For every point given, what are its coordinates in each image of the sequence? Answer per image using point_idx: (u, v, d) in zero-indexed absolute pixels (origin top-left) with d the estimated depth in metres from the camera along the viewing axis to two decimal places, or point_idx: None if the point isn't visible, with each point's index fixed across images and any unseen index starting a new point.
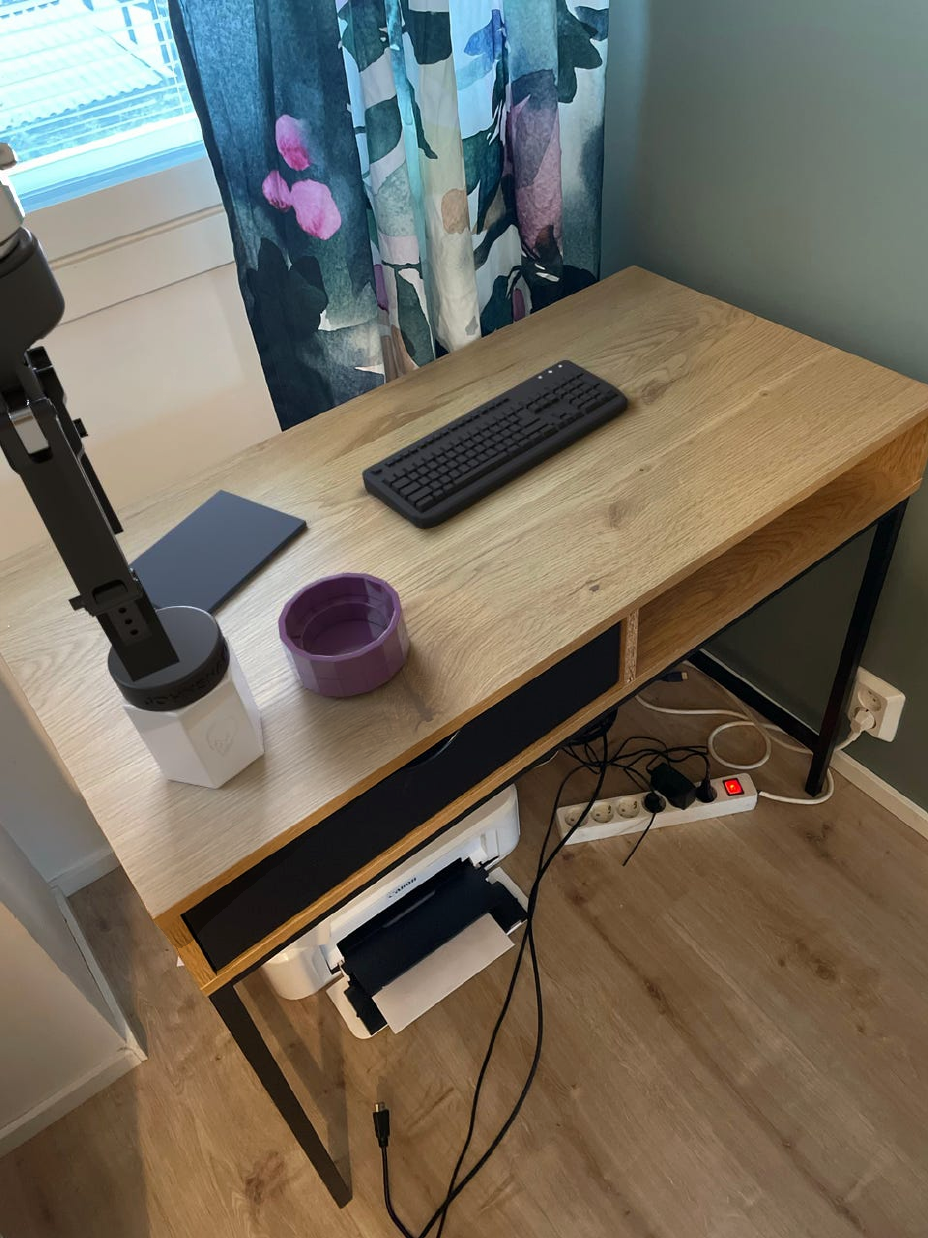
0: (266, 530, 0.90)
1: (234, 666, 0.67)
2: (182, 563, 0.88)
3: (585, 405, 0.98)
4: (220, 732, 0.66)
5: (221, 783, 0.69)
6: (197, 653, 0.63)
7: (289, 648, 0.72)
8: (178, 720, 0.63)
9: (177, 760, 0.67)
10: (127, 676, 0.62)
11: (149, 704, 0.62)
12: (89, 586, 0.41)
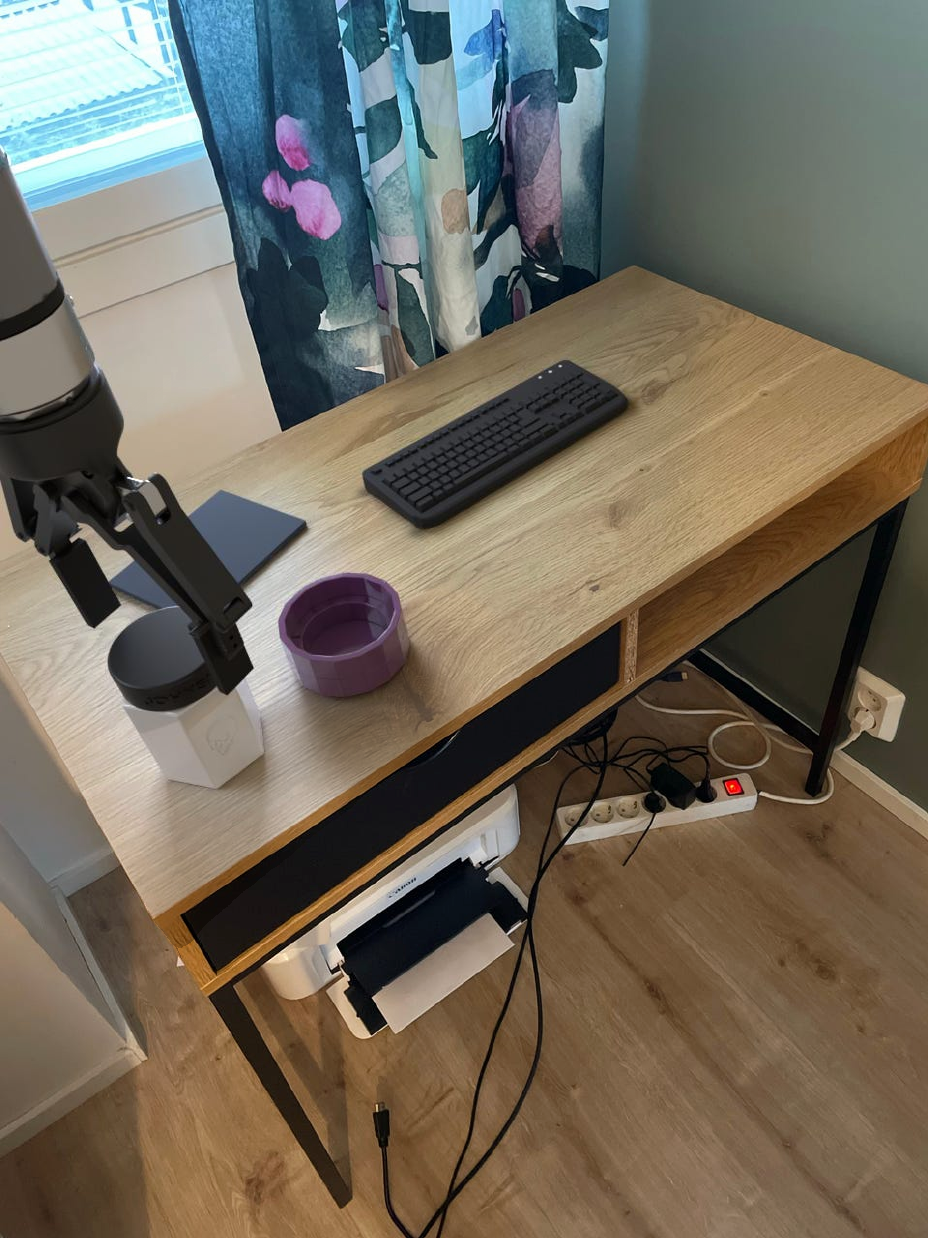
0: (266, 530, 0.90)
1: None
2: None
3: (585, 405, 0.98)
4: (220, 732, 0.66)
5: (221, 783, 0.69)
6: (197, 653, 0.63)
7: (289, 648, 0.72)
8: (178, 720, 0.63)
9: (177, 760, 0.67)
10: (127, 676, 0.62)
11: (149, 704, 0.62)
12: (220, 608, 0.53)
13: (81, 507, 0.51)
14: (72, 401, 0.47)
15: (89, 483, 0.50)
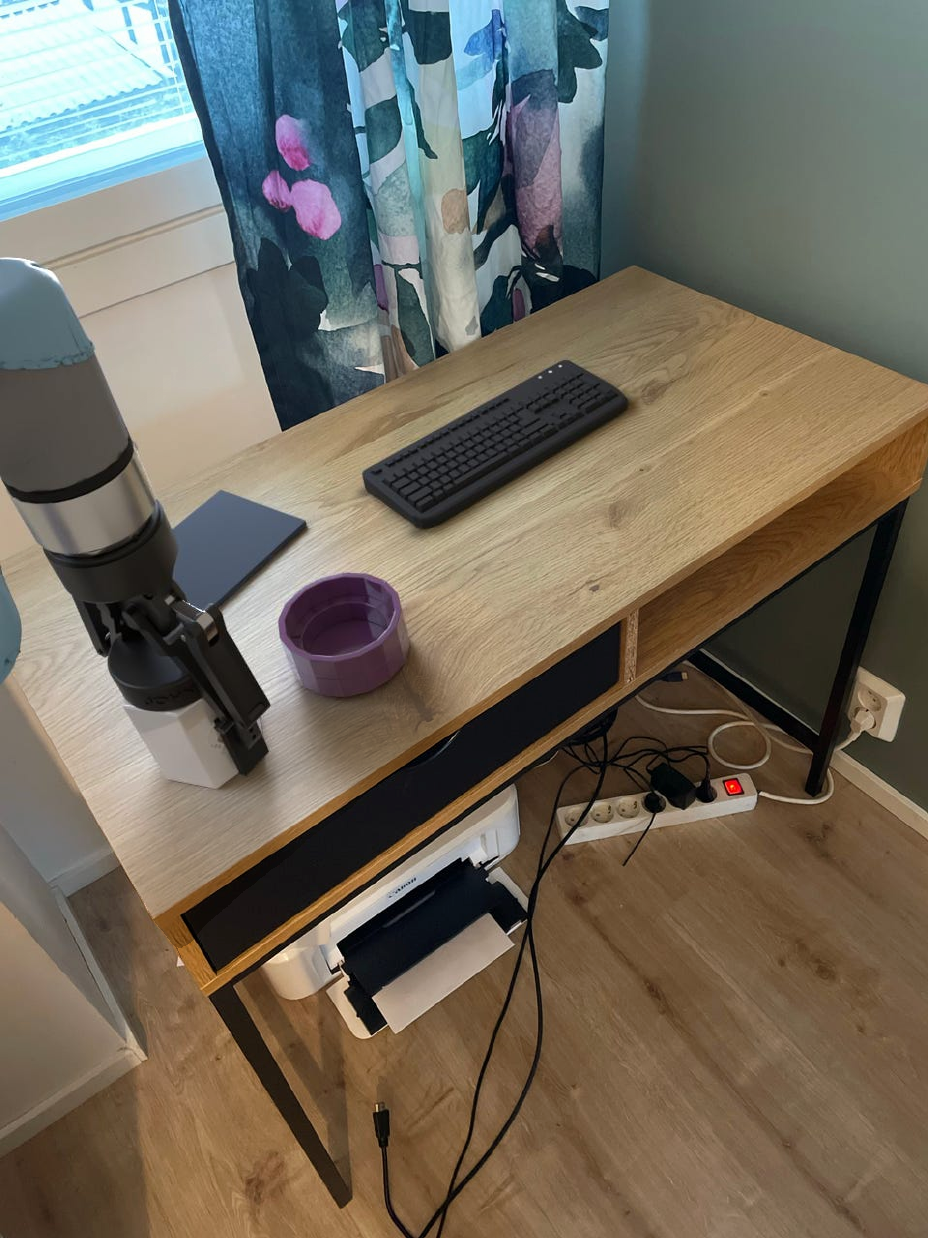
0: (266, 530, 0.90)
1: None
2: (182, 563, 0.88)
3: (585, 405, 0.98)
4: None
5: (221, 783, 0.69)
6: None
7: (289, 648, 0.72)
8: (178, 720, 0.63)
9: (177, 760, 0.67)
10: (127, 676, 0.62)
11: (149, 704, 0.62)
12: (246, 712, 0.61)
13: (140, 622, 0.58)
14: (137, 537, 0.54)
15: (148, 603, 0.57)
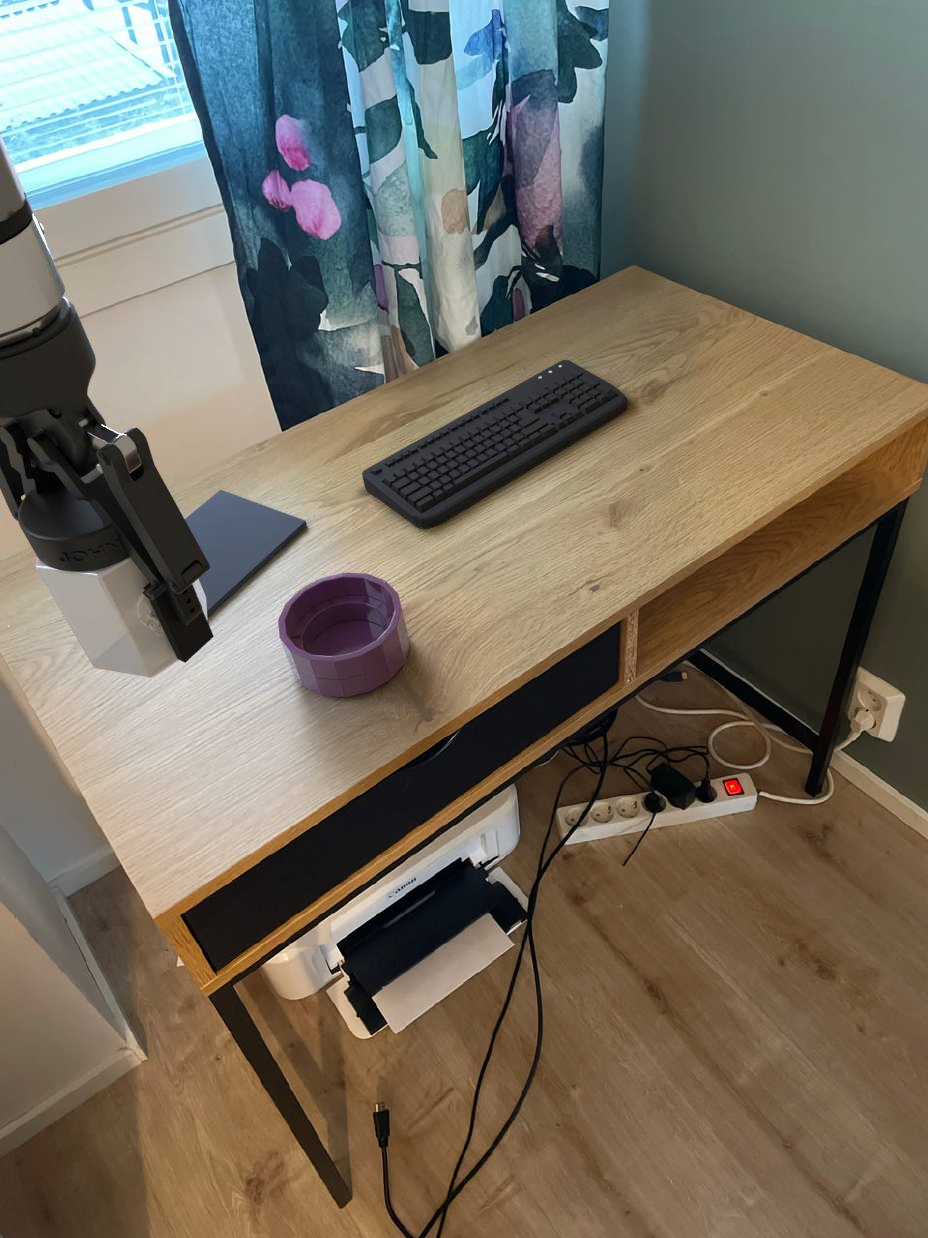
0: (266, 530, 0.90)
1: None
2: None
3: (585, 405, 0.98)
4: None
5: (157, 671, 0.59)
6: None
7: (289, 648, 0.72)
8: (100, 582, 0.53)
9: (104, 640, 0.58)
10: (39, 527, 0.52)
11: (65, 561, 0.52)
12: (179, 570, 0.52)
13: (48, 450, 0.49)
14: (39, 332, 0.45)
15: (57, 423, 0.47)
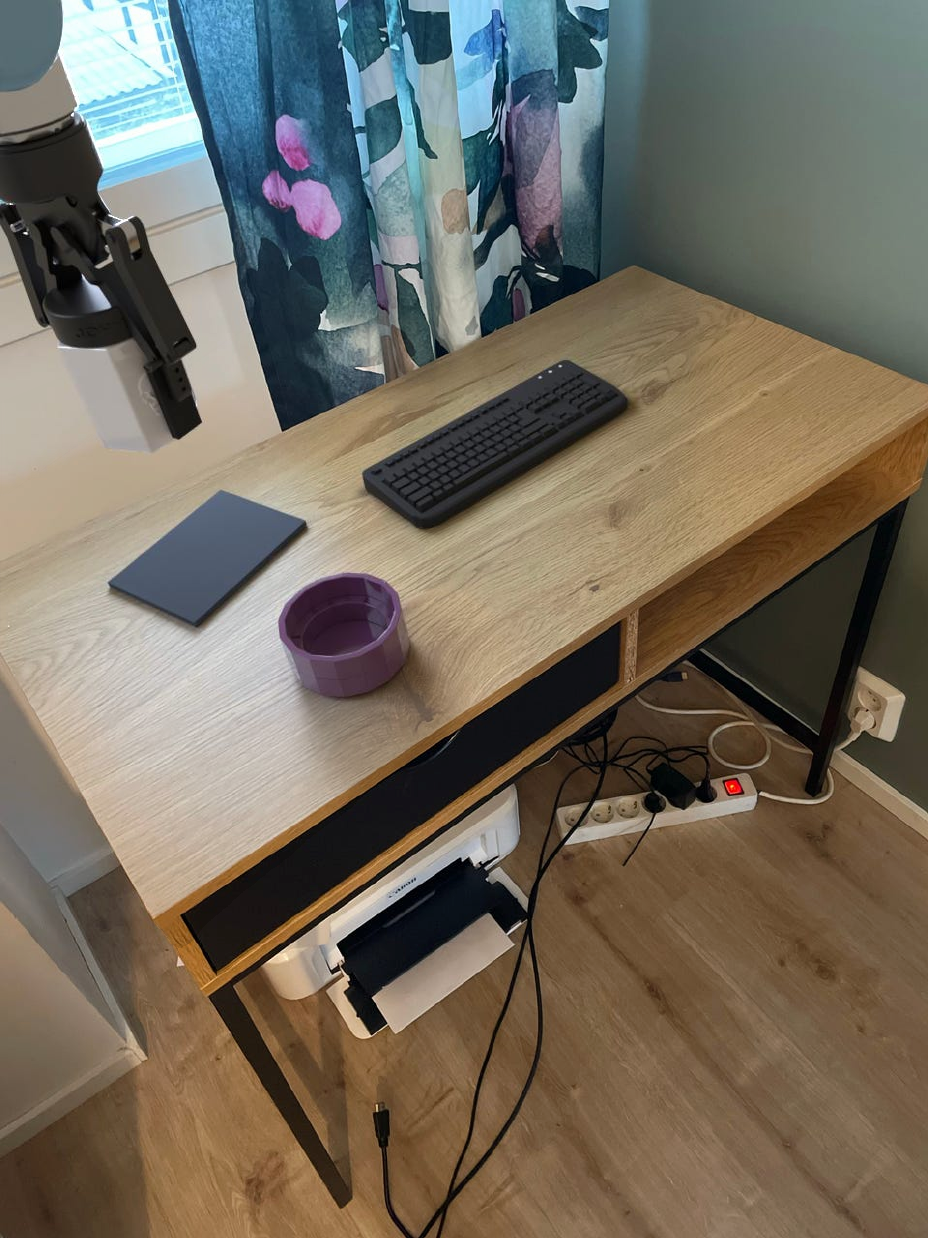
0: (266, 530, 0.90)
1: None
2: (182, 563, 0.88)
3: (585, 405, 0.98)
4: None
5: (156, 447, 0.73)
6: None
7: (289, 648, 0.72)
8: (109, 357, 0.66)
9: (112, 417, 0.71)
10: (60, 309, 0.65)
11: (81, 337, 0.66)
12: (171, 342, 0.65)
13: (67, 237, 0.62)
14: (60, 132, 0.58)
15: (74, 212, 0.61)
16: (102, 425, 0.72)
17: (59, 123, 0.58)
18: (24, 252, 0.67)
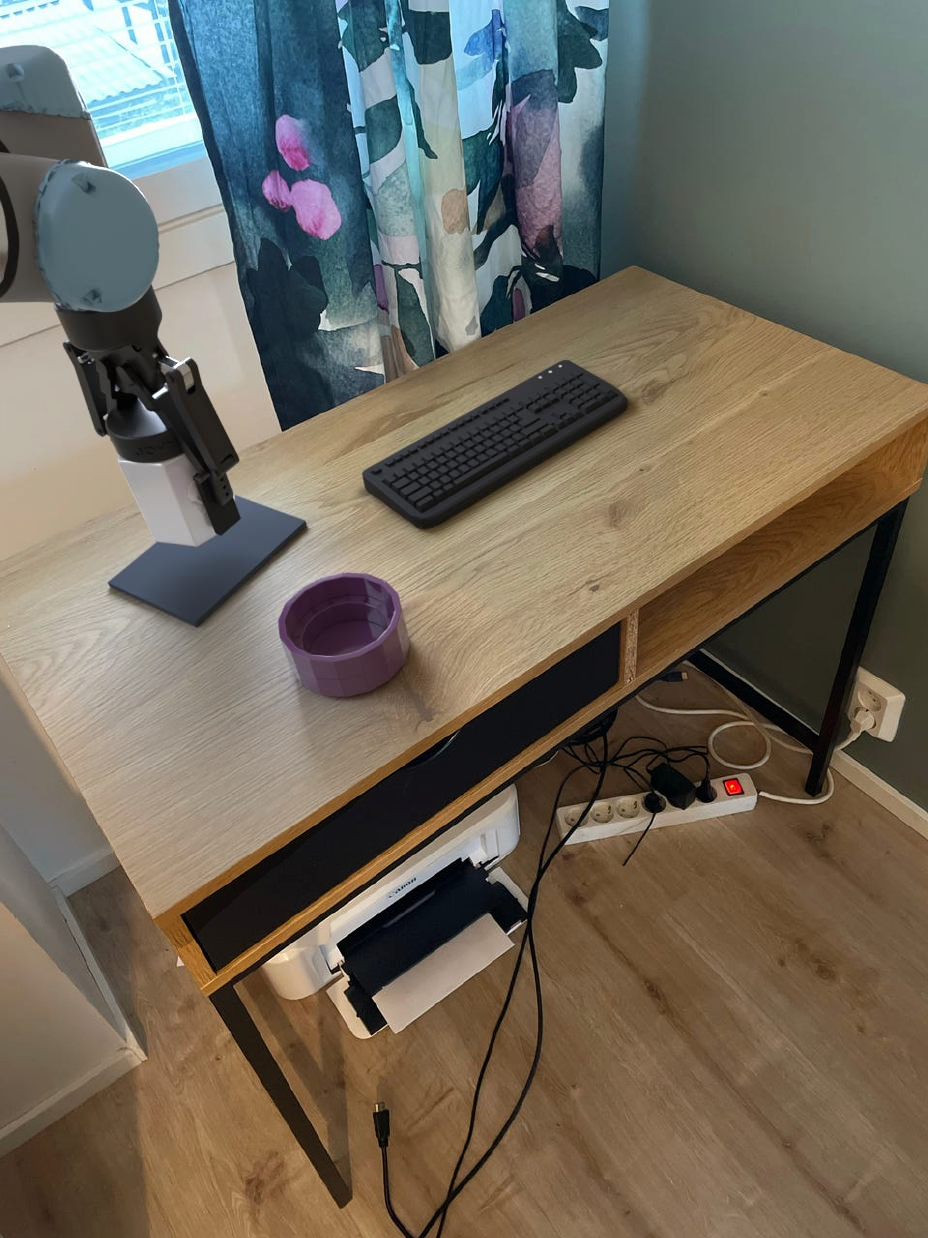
0: (266, 530, 0.90)
1: None
2: (182, 563, 0.88)
3: (585, 405, 0.98)
4: None
5: (200, 541, 0.82)
6: None
7: (289, 648, 0.72)
8: (163, 470, 0.76)
9: (163, 517, 0.81)
10: (121, 431, 0.75)
11: (140, 455, 0.75)
12: (219, 460, 0.75)
13: (131, 375, 0.72)
14: None
15: (138, 355, 0.70)
16: (154, 523, 0.82)
17: None
18: (88, 378, 0.77)
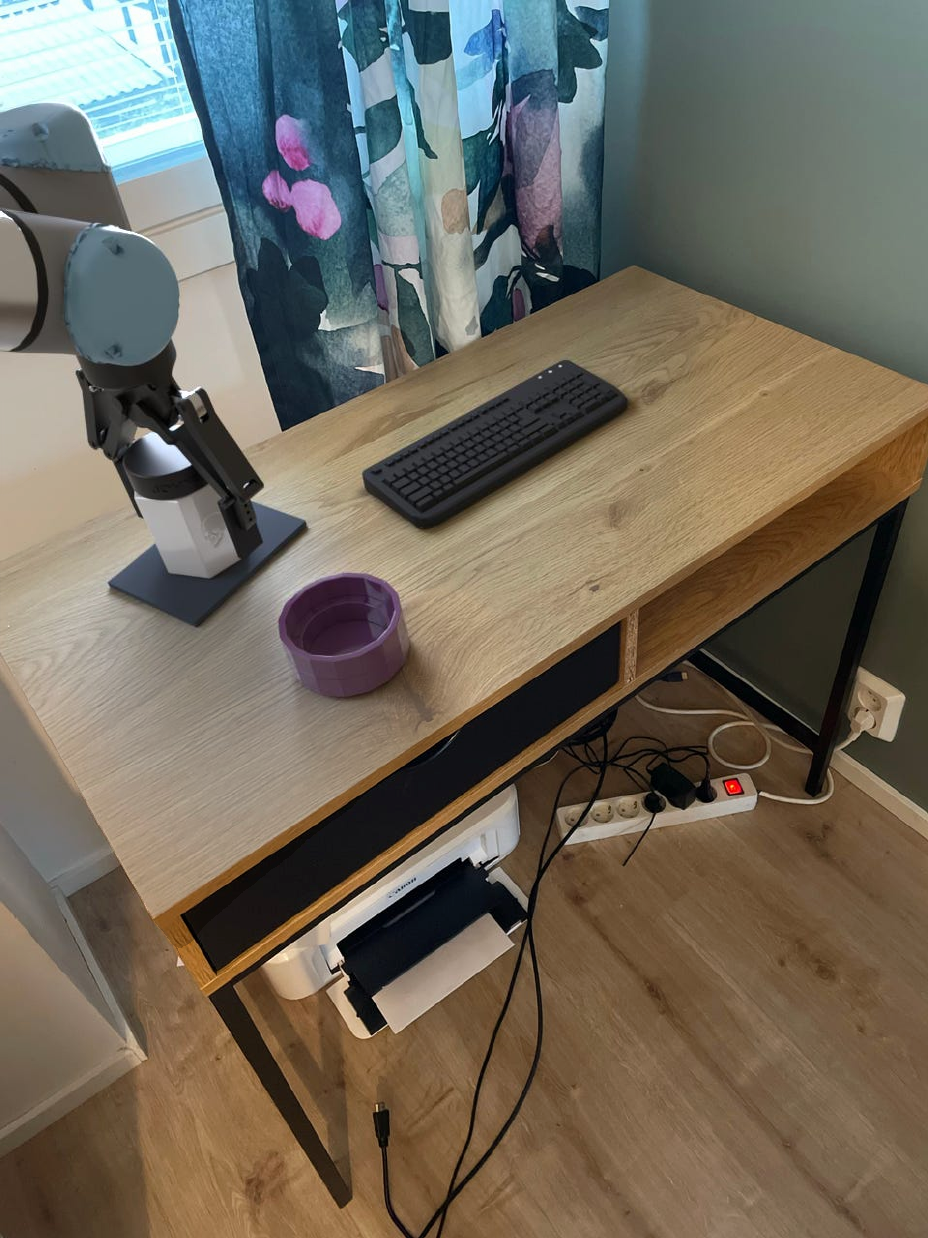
0: (266, 530, 0.90)
1: None
2: None
3: (585, 405, 0.98)
4: (212, 525, 0.82)
5: (213, 573, 0.85)
6: None
7: (289, 648, 0.72)
8: (179, 507, 0.79)
9: (178, 550, 0.83)
10: (138, 470, 0.78)
11: (156, 492, 0.78)
12: (241, 485, 0.75)
13: (146, 412, 0.74)
14: None
15: (153, 394, 0.73)
16: (168, 556, 0.84)
17: None
18: (95, 404, 0.79)
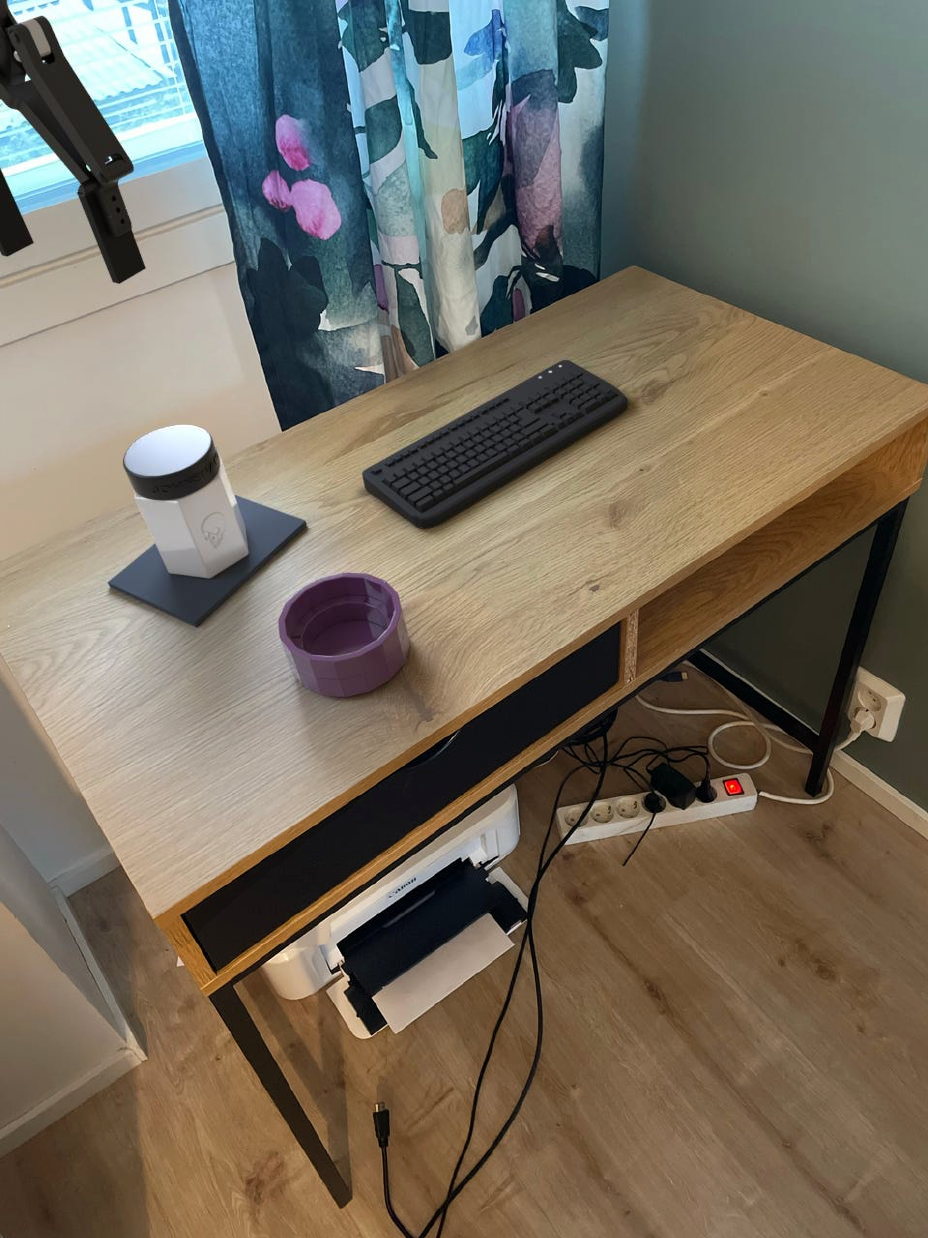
0: (266, 530, 0.90)
1: (224, 475, 0.83)
2: None
3: (585, 405, 0.98)
4: (212, 525, 0.82)
5: (213, 573, 0.85)
6: (194, 454, 0.79)
7: (289, 648, 0.72)
8: (179, 507, 0.79)
9: (178, 551, 0.83)
10: (138, 470, 0.78)
11: (156, 492, 0.78)
12: (101, 156, 0.60)
13: None
14: None
15: None
16: (168, 556, 0.84)
17: None
18: None
